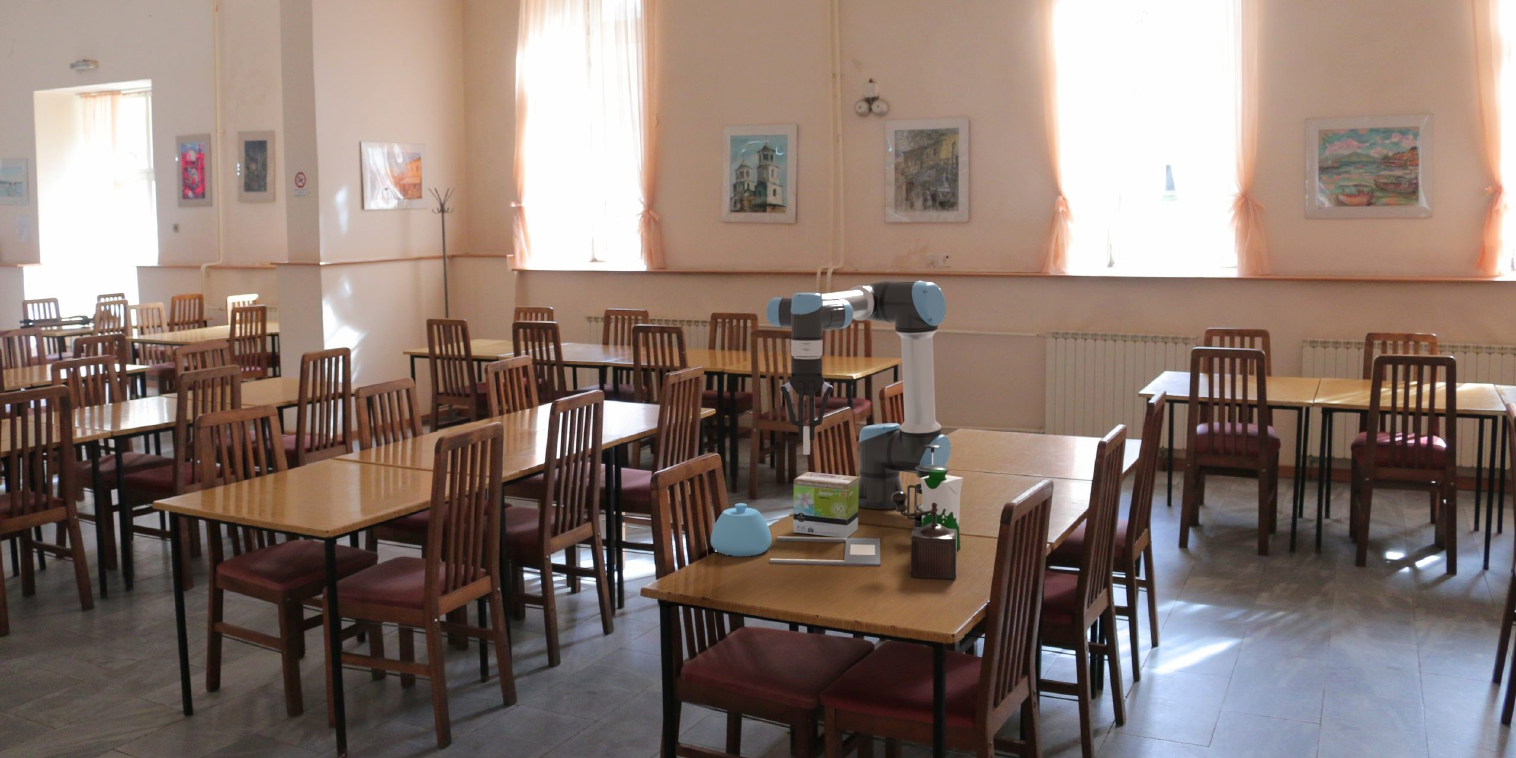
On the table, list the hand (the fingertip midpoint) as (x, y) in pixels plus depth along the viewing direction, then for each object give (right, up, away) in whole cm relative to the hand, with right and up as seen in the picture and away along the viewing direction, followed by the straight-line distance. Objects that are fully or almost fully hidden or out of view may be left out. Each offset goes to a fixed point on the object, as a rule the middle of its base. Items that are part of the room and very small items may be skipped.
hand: (806, 453), depth 283 cm
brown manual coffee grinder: (+26, -27, -14) cm, 40 cm away
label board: (+6, -24, +3) cm, 25 cm away
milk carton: (+33, -24, +5) cm, 41 cm away
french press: (+33, -22, +22) cm, 45 cm away
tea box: (+6, -22, +21) cm, 31 cm away
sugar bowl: (-16, -24, +5) cm, 30 cm away
